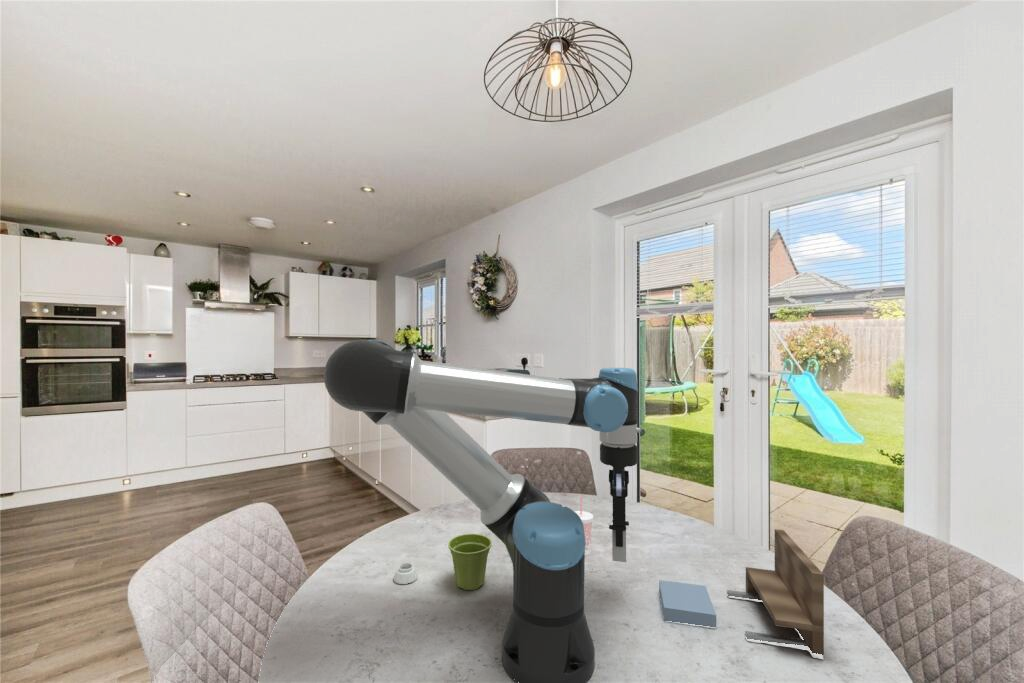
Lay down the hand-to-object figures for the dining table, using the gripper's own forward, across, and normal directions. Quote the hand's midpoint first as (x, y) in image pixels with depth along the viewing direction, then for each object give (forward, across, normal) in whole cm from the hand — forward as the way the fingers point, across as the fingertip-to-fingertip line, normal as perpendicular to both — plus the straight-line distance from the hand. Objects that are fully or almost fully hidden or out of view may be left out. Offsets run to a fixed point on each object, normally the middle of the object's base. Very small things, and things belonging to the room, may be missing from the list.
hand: (619, 559), depth 88 cm
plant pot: (+8, -2, +31) cm, 32 cm away
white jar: (+8, -4, +46) cm, 46 cm away
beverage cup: (+8, +19, +9) cm, 23 cm away
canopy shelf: (+8, 0, -27) cm, 28 cm away
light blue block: (+9, 0, -13) cm, 15 cm away
